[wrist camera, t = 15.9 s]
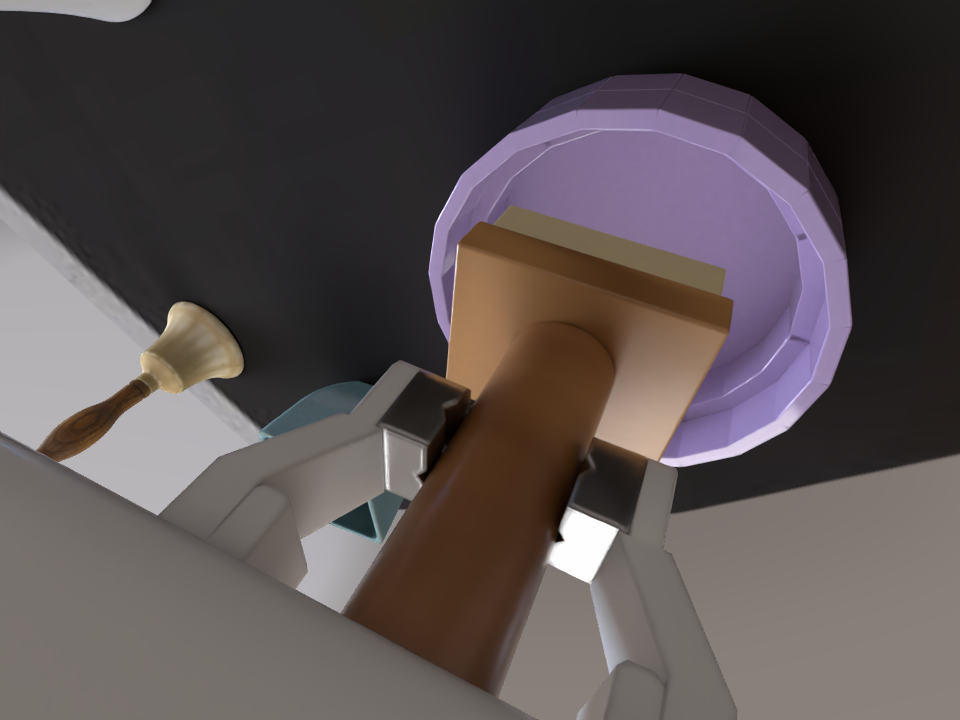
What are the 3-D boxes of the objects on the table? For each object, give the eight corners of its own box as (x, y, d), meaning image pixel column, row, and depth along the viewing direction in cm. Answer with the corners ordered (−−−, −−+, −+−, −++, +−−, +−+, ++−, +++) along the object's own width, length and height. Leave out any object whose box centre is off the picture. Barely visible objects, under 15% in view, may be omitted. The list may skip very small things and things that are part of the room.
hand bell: (156, 295, 49) (-33, 410, 38) (222, 307, 46) (36, 437, 34) (196, 367, 54) (39, 487, 43) (257, 382, 51) (105, 516, 39)
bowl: (431, 144, 28) (368, 185, 24) (820, -8, 19) (827, 17, 15) (541, 398, 36) (507, 462, 32) (853, 384, 27) (864, 473, 22)
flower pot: (429, 382, 40) (362, 470, 34) (439, 459, 46) (382, 547, 39) (333, 354, 43) (254, 430, 37) (352, 430, 49) (287, 507, 42)
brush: (484, 332, 16) (260, 646, 9) (504, 193, 13) (192, 508, 6) (671, 400, 15) (568, 823, 8) (740, 263, 12) (670, 756, 5)
